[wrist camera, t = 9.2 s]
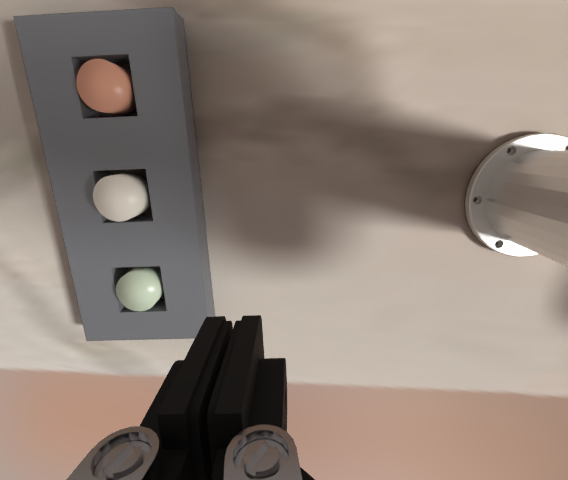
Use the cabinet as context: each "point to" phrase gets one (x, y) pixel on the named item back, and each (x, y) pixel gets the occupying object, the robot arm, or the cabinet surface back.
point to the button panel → (123, 166)
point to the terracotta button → (106, 87)
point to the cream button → (121, 196)
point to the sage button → (140, 288)
